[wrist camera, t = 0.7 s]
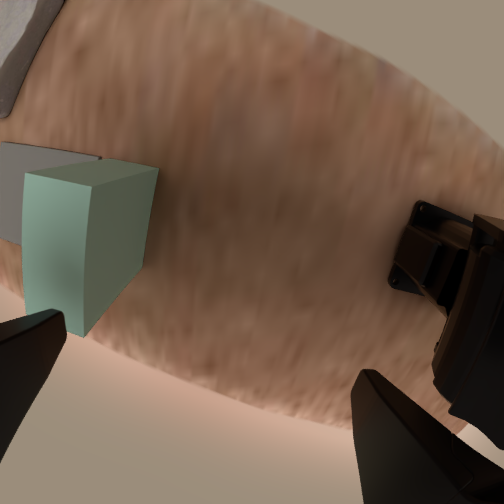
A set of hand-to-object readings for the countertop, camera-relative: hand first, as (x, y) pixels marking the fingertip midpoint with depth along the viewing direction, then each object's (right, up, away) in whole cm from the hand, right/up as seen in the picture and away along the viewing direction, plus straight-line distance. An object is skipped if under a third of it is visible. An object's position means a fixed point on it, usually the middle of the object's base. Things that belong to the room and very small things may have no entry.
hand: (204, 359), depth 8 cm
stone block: (-19, +20, +7) cm, 29 cm away
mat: (-15, +7, +11) cm, 20 cm away
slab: (-7, +5, +12) cm, 15 cm away
